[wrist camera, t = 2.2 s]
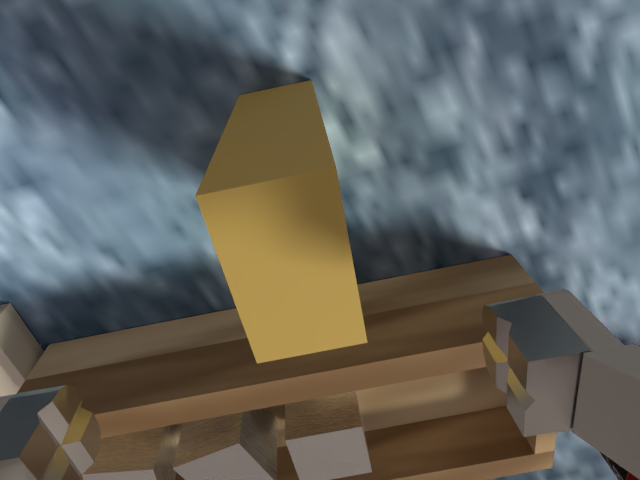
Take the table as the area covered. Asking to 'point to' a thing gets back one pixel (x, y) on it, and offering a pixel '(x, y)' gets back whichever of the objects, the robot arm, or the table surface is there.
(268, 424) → the grey piece
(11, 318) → the tray
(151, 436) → the grey and brown cube
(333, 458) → the grey cubic block
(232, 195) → the block
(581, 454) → the table surface
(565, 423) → the robot arm
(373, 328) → the open wooden box
